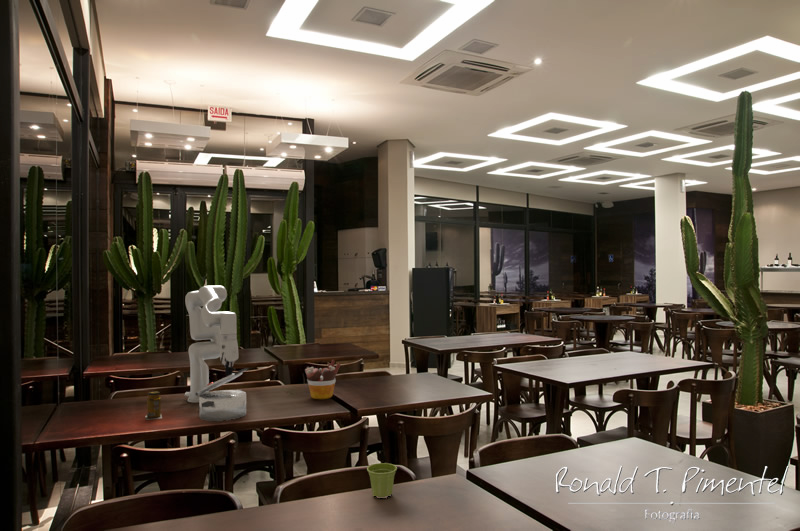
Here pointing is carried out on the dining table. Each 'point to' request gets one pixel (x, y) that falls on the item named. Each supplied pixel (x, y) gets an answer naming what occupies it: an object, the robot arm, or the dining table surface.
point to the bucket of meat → (322, 381)
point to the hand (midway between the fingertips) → (229, 375)
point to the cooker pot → (222, 405)
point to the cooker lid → (220, 382)
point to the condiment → (153, 406)
